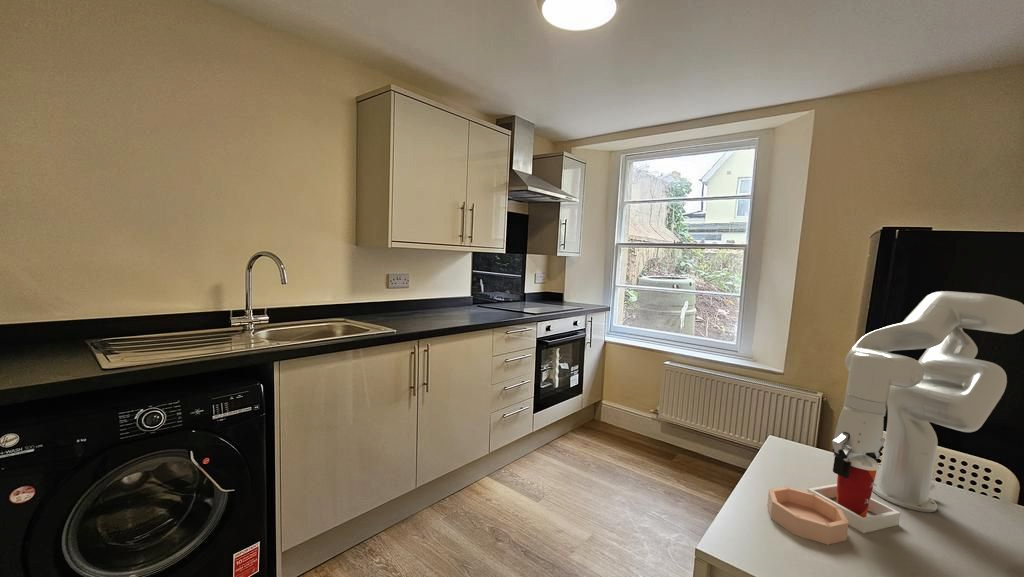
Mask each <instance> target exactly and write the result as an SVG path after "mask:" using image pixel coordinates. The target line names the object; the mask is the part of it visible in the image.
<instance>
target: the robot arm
mask: <svg viewBox="0 0 1024 577" xmlns="http://www.w3.org/2000/svg"><path fill="white" fill-rule="evenodd" d="M963 329H967V330H974V331H975V330H976V331H981V332H982V331H983V332H991V333H996V334H997V333H998V334H1006V335H1014V334H1017V333H1019V332H1021V331H1023V330H1024V304H1023V303H1022V302H1021V301H1018V300H1015V299H1012V298H1011V299H1010V298H1007V297H1003V296H999V295H995V294H988V293H977V292H962V291H951V290H950V291H948V290H945V291H943V290H941V291H940V290H939V291H935V292H931V293H930V294H926V296H925V297H923V299H922V300H921V301H920V302H919V303H918V304H917V306H915V308H913V310H911V312H910V313H909V314H908V315H907V316H906V317H905V318H904V320H903V321H902V322H899V323H895V324H891V325H887V326H884V327H882V328H879V329H875V330H873V331H870V332H868V333H866V334H865V335H863V336H862V337H860V338H859V339H858V340H857V342H856V343H855V344H854V345H852V347H851V348H850V349H849V351H848V352H847V354H846V357H845V361H844V362H845V368H846V370H847V371H848V378H847V382H846V383H847V384H846V390H845V395H844V403H843V407H842V409H841V412H840V414H839V417H838V421H837V424H836V428H835V432H834V438H833V440H832V441H831V443H832V452H833V457H834V462H833V466H832V467H833V468H832V472H833V474H837V476H838V475H840V476H842V477H844V478H849V474H850V467H851V462H849V460H850V459H851V457H852V456H853V455H854V454H864V455H867V456H869V457H871V458H873V459H874V460H876V462H877V465H879V464H878V463H879V462H878V461H879V459H880V457H881V452H882V451H883V452H882V458H881V466H880V472H879V480H874V485H873V489H872V493H873V492H874V494H876V495H877V496H879V497H880V498H882V499H884V500H885V501H887V502H891V503H893V504H895V505H896V506H900V507H902V508H905V509H909V510H912V511H917V512H922V513H932V512H933V513H934V512H936V511H937V509H938V505H937V504H938V503H936V502H935V500H934V499H932V498H931V497H930V496H931V495H930V494H931V491H935V489H936V485H935V484H934V483H933V482H932V481H933V474H934V468H935V461H936V454H937V448H938V444H939V442H938V437H937V433H936V431H935V430H934V428H933V426H932V424H931V423H933V424H935V425H939V426H942V427H944V428H948V429H952V430H955V431H959V432H963V433H973V432H976V431H978V430H979V429H980V428H982V426H983V425H984V423H985V422H986V421H987V419H988V417H989V416H990V415H991V413H992V412H993V410H994V409H995V408H996V406H997V404H998V403H999V402H1000V400H1001V399H1002V396H1003V395H1004V393H1005V390H1006V388H1007V384H1008V380H1007V379H1008V377H1007V374H1006V371H1005V370H1004V369H1003V368H1002V367H1001V366H1000V365H998V364H997V363H995V362H991V361H987V360H984V359H983V360H982V359H976V356H977V355H978V352H979V351H978V349H979V348H978V346H977V344H976V343H975V341H974V340H973V339H972V338H971V337H970V336H969V335H968V334H967V333H965V331H964V330H963ZM923 349H926V350H925V351H924V352H923V353H922V355H921V356H920V357H919V359H918V360H916V358H912V357H909V356H906V355H902V354H897V353H892V352H893V351H909V350H910V351H911V350H913V351H914V350H923ZM886 414H887V422H886V429H885V430H886V431H885V438H884V437H883V436H884V424H885V423H884V422H885V421H884V420H885V418H884V417H886ZM844 450H845V451H847V452H848V453H847V454H845V453H844Z"/></svg>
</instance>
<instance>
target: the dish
mask: <svg viewBox="0 0 1024 577" xmlns="http://www.w3.org/2000/svg"><path fill="white" fill-rule="evenodd" d="M766 506H767V509H768V514H769V518H770V519H771V520H772V521H774V522H775V523H777V524H778V525H780V526H781V527H783V528H784V529H786V531H789V532H790V533H792V534H793V535H795V536H798V537H801V538H803V539H804V538H805V539H808V540H810V541H815V542H817V543H818V542H819V543H821V544H825V545H831V544H837V543H840V542H844V541H845V542H846V541H847V538H848V532H849V530H848V529H849V525H848V524H849V522H848V521H847V519H846V517H845V515H844V513H843V512H842V510H841V508H839V507H837V506H835V505H834V504H832V503H830V502H828V501H826V500H825V499H823V498H821V497H819V496H817V495H816V494H813V493H809V492H807V491H804V490H802V489H801V490H800V489H797V488H793V487H789V486H781V487H774V488H770V489H768V494H767V504H766Z"/></svg>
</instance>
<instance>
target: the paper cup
mask: <svg viewBox="0 0 1024 577" xmlns="http://www.w3.org/2000/svg"><path fill="white" fill-rule="evenodd" d="M843 451H844V453H845V454H847V453H848V452H847V451H845V450H843ZM864 454H865V453H864ZM864 454H862V453H861V454H854V455H853V456H852V457H851V459H850V460H849V462H851V467H850V474H849V478H844V477H842V476H840V475H838V474H837V479H836V484H837V497H835V498H836V501H835V502H836V503H838V504H839V505H841V506H843V507H845V508H847V509H848V510H850V511H852V512H854V513H856V514H857V515H859V516H861V517H863V518H864V517H867V516H868V511H869V510H868V507H869V503H870V498H872V493H873V491H872V489H873V485H874V481H876V476H877V471H878V470H879V469H880V468H879V465H878V464H877V462H876V460H874V459H873V458H871V457H869V456H867V455H864Z"/></svg>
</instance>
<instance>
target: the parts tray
mask: <svg viewBox="0 0 1024 577" xmlns="http://www.w3.org/2000/svg"><path fill="white" fill-rule="evenodd" d="M806 492H809V493H813V494H816V495H817V496H819V497H821V498H823V499H825V500H826V501H828V502H830V503H832V504H834V505H835V506H837V507H839V508H841V510H842V512H843V513H844V515H845V517H846V519H847V521H848V522H849V524H848V526H850V527H852V528H853V529H855V530H857V531H859V532H861V533H862V534H866V533H869V532H874V531H877V530H883V529H887V528H890V527H894V526H899V524H900V518H901V512H900V511H898V510H896V509H894V508H892V507H890V506H888V505H886V504H885V503H882V502H880V501H878V500H876V499H874V498H872V497H871V498H870V503H869V507H868V511H869V512H871V513H872V514H874V515H869V516H866V517H864V518H863V517H861V516H859V515H857V514H856V513H854V512H852V511H850V510H848V509H847V508H845V507H843V506H841V505H839V504H838V503H836V501H834V500H832V498H837V483H834V484H827V485H822V486H821V485H820V486H816V487H810V488H809V487H808V488H807V491H806Z"/></svg>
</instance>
